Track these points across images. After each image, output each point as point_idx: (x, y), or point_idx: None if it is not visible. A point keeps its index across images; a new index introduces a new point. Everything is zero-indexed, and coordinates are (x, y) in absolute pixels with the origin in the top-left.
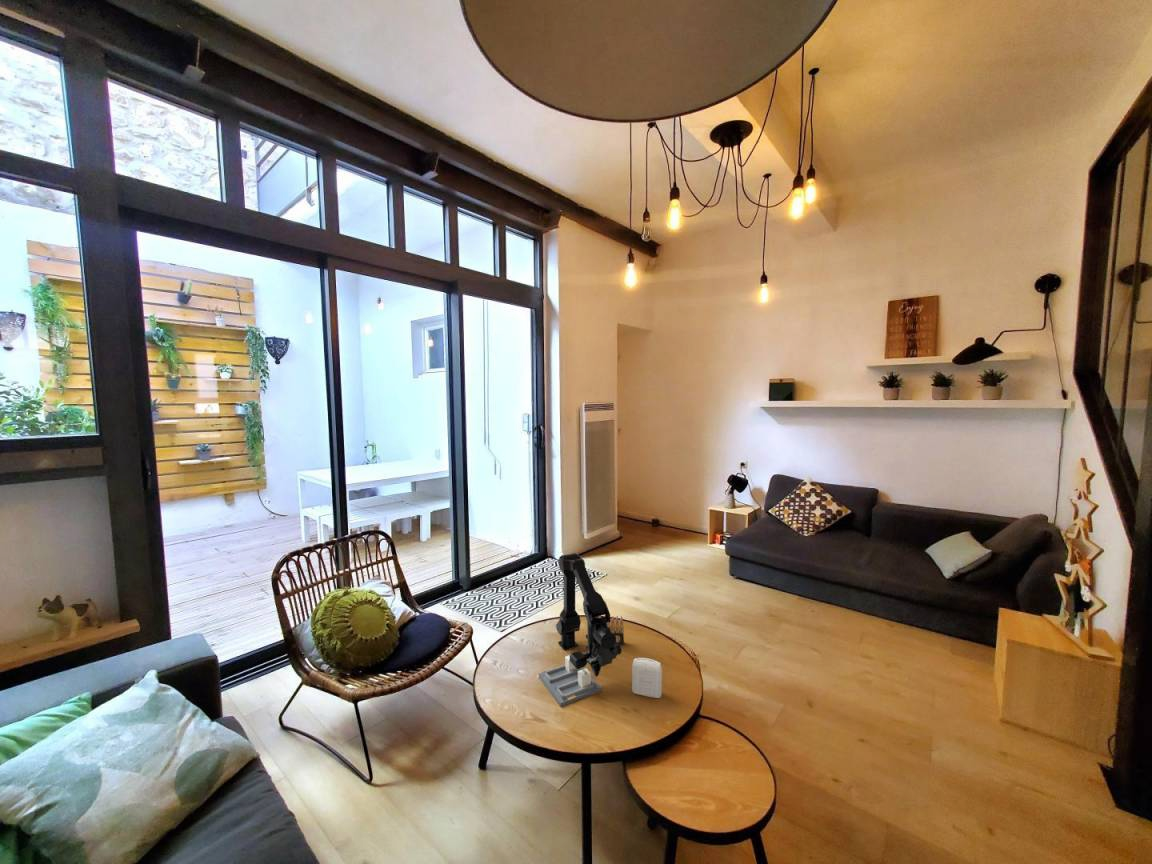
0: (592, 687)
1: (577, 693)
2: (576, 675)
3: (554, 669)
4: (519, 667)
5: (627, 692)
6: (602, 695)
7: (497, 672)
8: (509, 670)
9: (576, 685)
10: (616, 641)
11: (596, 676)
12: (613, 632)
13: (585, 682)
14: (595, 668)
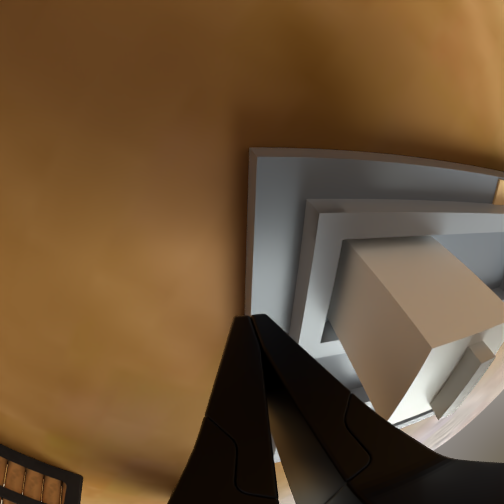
0: (356, 201)
1: (480, 204)
2: (339, 380)
3: (404, 422)
4: (428, 429)
5: (12, 12)
6: (283, 73)
7: (471, 411)
8: (452, 418)
9: None
10: (2, 459)
11: (260, 314)
12: (8, 502)
13: (435, 265)
14: (349, 416)
